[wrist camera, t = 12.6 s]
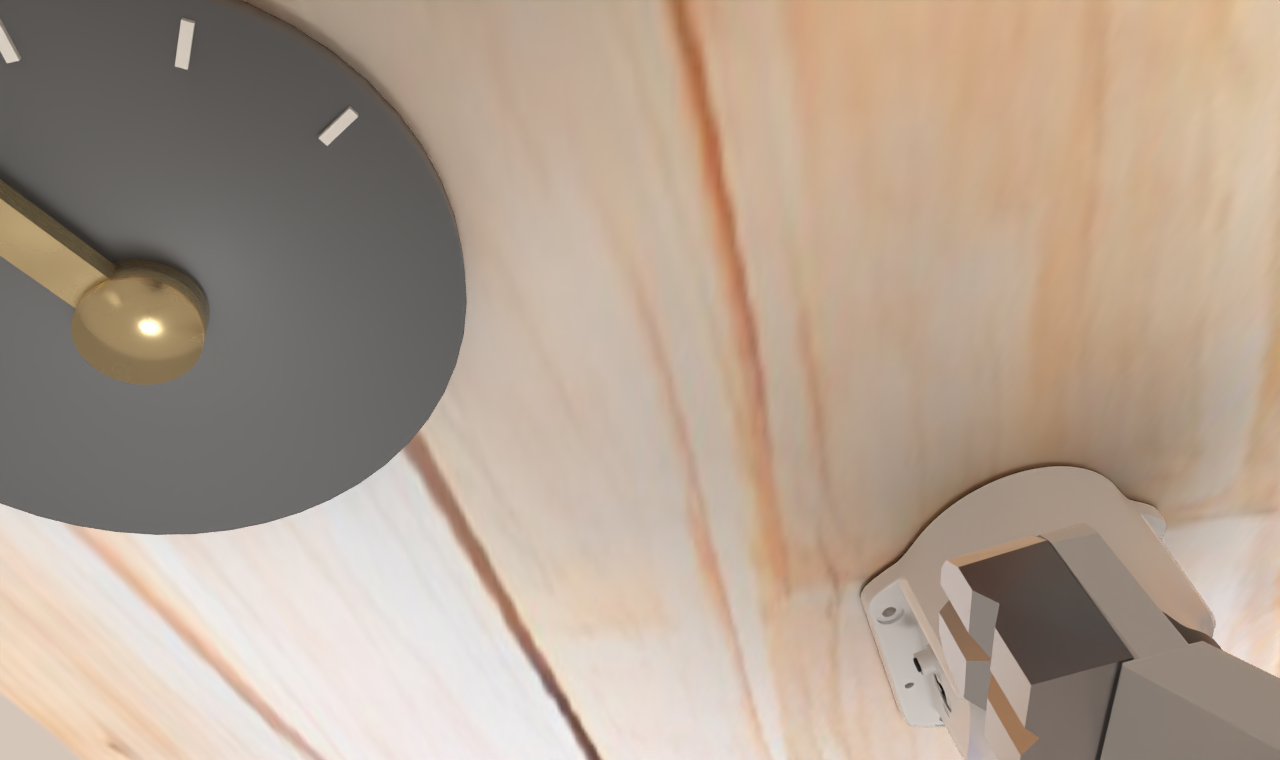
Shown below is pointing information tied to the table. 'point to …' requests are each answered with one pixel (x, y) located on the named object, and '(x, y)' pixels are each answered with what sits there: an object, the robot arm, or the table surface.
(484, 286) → the table surface
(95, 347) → the brass lever
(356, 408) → the dial plate
